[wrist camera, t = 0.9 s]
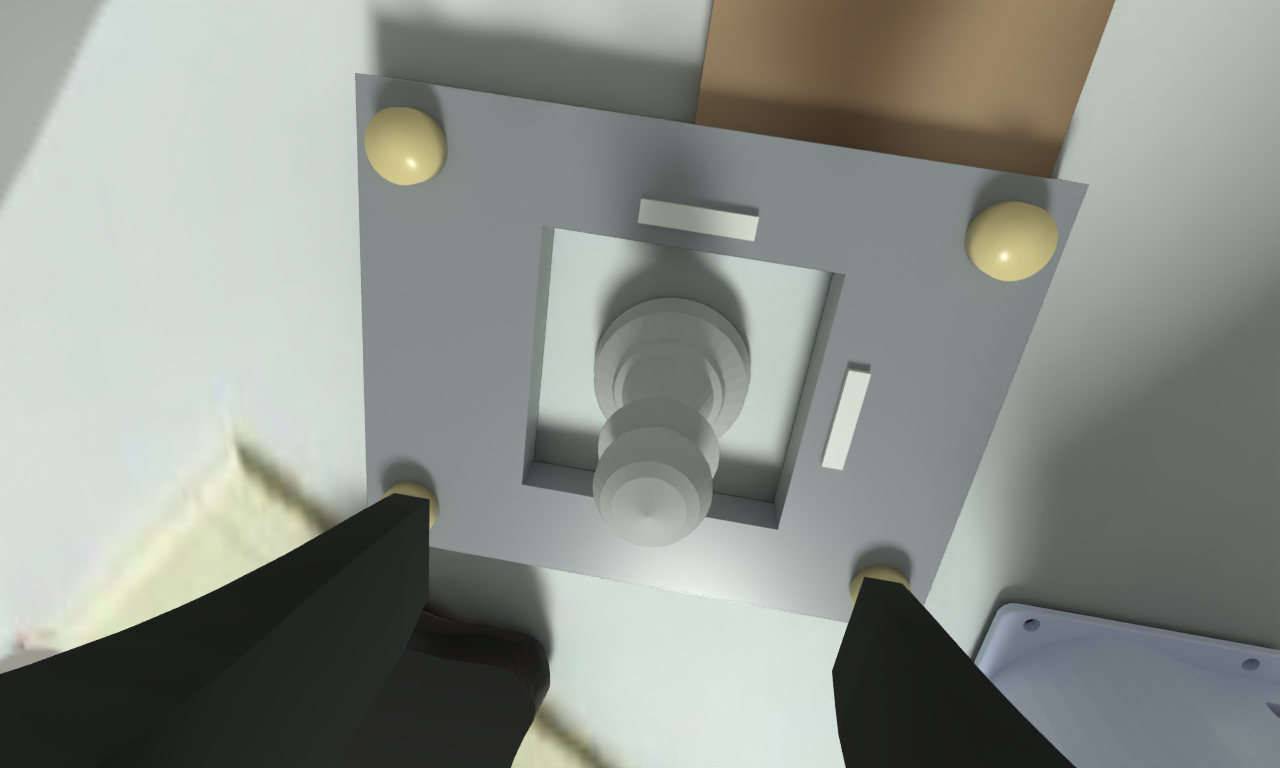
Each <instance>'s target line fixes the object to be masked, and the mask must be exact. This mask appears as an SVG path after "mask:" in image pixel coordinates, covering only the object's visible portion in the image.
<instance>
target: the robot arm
mask: <svg viewBox="0 0 1280 768" xmlns="http://www.w3.org/2000/svg"><path fill="white" fill-rule="evenodd" d="M429 522H430V499H426V498H420V497H415V496H409V495H404V494H398V493H393V494H391V495H389V496H387V497H385V498H384V499H382V500H380V501H378V502H376V503H375V504H373V505H371V506H369V507H368V508H366V509H364V510H362V511H361V512H359V513H357V514H356V515H354V516H352V517H350V518H349V519H347V520H345V521H343V522H342V523H340V524H338V525H337V526H335V527H333V528H331V529H330V530H328V531H326V532H324V533H323V534H321V535H319V536H317V537H315V538H314V539H312V540H310V541H308V542H307V543H305V544H303V545H301V546H299V547H298V548H296V549H294V550H292V551H291V552H289V553H287V554H285V555H283V556H281V557H279V558H277V559H276V560H274V561H272V562H270V563H268V564H266V565H264V566H262V567H260V568H258V569H256V570H254V571H252V572H250V573H248V574H246V575H244V576H242V577H240V578H238V579H236V580H235V581H233V582H231V583H229V584H227V585H225V586H223V587H221V588H219V589H217V590H215V591H213V592H210V593H208V594H206V595H204V596H202V597H200V598H198V599H195V600H193V601H191V602H189V603H187V604H184V605H182V606H180V607H178V608H175V609H173V610H171V611H168V612H166V613H164V614H161V615H159V616H156V617H154V618H152V619H149V620H147V621H145V622H142V623H140V624H138V625H135V626H133V627H130V628H128V629H125V630H123V631H120V632H118V633H115V634H112V635H109V636H107V637H104V638H101V639H98V640H96V641H93V642H90V643H87V644H85V645H82V646H79V647H76V648H74V649H71V650H68V651H65V652H63V653H60V654H57V655H54V656H52V657H49V658H46V659H43V660H41V661H38V662H35V663H33V664H30V665H27V666H24V667H21V668H18V669H15V670H11V671H9V672H5V673H2V674H0V768H333V767H334V765H335V764H336V762H337V760H338V759H339V757H340V756H341V754H342V752H343V751H344V749H345V747H346V746H347V744H348V742H349V741H350V739H351V738H352V736H353V734H354V733H355V731H356V729H357V728H358V726H359V725H360V723H361V721H362V720H363V718H364V716H365V715H366V713H367V712H368V710H369V708H370V707H371V705H372V703H373V702H374V700H375V698H376V697H377V695H378V694H379V692H380V690H381V689H382V687H383V685H384V684H385V682H386V680H387V679H388V677H389V675H390V674H391V672H392V670H393V669H394V667H395V665H396V664H397V662H398V660H399V659H400V657H401V655H402V653H403V652H404V650H405V647H406V645H407V643H408V641H409V639H410V637H411V635H412V632H413V630H414V628H415V626H416V624H417V621H418V619H419V617H420V615H421V612H422V610H423V608H424V605H425V603H426V601H427V599H428V587H429ZM1029 619H1033V621H1031V622H1029V623H1025V621H1027V620H1029ZM832 676H833V687H834V698H835V708H836V717H837V726H838V734H839V739H840V744H841V748H842V753H843V757H844V762H845V766H846V768H1280V650H1276V649H1270V648H1264V647H1259V646H1253V645H1248V644H1242V643H1237V642H1231V641H1225V640H1220V639H1214V638H1209V637H1203V636H1197V635H1192V634H1186V633H1181V632H1175V631H1169V630H1164V629H1158V628H1153V627H1147V626H1142V625H1136V624H1130V623H1125V622H1119V621H1114V620H1108V619H1102V618H1097V617H1091V616H1086V615H1080V614H1075V613H1069V612H1063V611H1058V610H1052V609H1047V608H1041V607H1035V606H1030V605H1024V604H1019V603H1010V604H1006V605H1004V606H1002V607H1001V608H1000V609H999V610H998V611H997V613H996V615H995V617H994V619H993V622H992V624H991V626H990V628H989V631H988V633H987V635H986V637H985V639H984V642H983V644H982V646H981V648H980V651H979V653H978V655H977V657H976V659H975V662H973V661H972V660H971V659H970V658H969V657H968V656H967V655H966V653H965V652H964V651H963V650H962V649H961V648H960V647H959V646H958V644H957V643H956V642H955V641H954V640H953V639H952V638H951V637H950V635H949V634H948V633H947V632H946V631H945V630H944V629H943V628H942V626H941V625H940V624H939V623H938V622H937V621H936V620H935V619H934V617H933V616H932V615H931V614H930V613H929V612H928V611H927V610H926V608H925V607H924V606H923V605H922V604H921V603H920V602H919V601H918V599H917V598H916V597H915V596H914V595H913V594H912V593H911V592H910V591H909V590H908V589H907V588H906V587H905V586H904V585H903V584H902V583H898V582H892V581H886V580H881V579H875V578H869V577H864V579H863V581H862V584H861V587H860V590H859V593H858V596H857V599H856V602H855V605H854V608H853V611H852V614H851V617H850V620H849V623H848V626H847V629H846V631H845V634H844V637H843V640H842V643H841V646H840V649H839V652H838V655H837V658H836V661H835V664H834V667H833V670H832Z"/></svg>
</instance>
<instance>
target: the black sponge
mask: <svg viewBox="0 0 1280 768" xmlns="http://www.w3.org/2000/svg"><path fill="white" fill-rule="evenodd" d="M549 687H550V670H549V664H548V661H547V658H546V656H545V653H544V650H543V648H542V646H541V645H540V644H539V643H538V642H537V641H536V640H534V639H532V638H530V637H528V636H526V635H524V634H522V633H518V632H513V631H508V630H503V629H499V628H496V627H492V626H483V625H475V624H467V623H460V622H454V621H450V620H447V619H444V618H441V617H438V616H435V615H433V614H431V613H429V612H426V611H424V610H422V612H421V615H420V617H419V619H418V621H417V624H416V626H415V628H414V630H413V632H412V635H411V637H410V639H409V641H408V643H407V645H406V647H405V650H404V652H403V653H402V655H401V657H400V659H399V660H398V662H397V664H396V665H395V667H394V669H393V670H392V672H391V674H390V675H389V677H388V679H387V680H386V682H385V684H384V685H383V687H382V689H381V690H380V692H379V694H378V695H377V697H376V698H375V700H374V702H373V703H372V705H371V707H370V708H369V710H368V712H367V713H366V715H365V716H364V718H363V720H362V721H361V723H360V725H359V726H358V728H357V729H356V731H355V733H354V734H353V736H352V738H351V739H350V741H349V742H348V744H347V746H346V747H345V749H344V751H343V752H342V754H341V756H340V757H339V759H338V760H337V762H336V764H335V765H334V767H333V768H511V766H512V763H513V760H514V757H515V755H516V753H517V751H518V749H519V747H520V745H521V743H522V740H523V738H524V736H525V735H526V733H527V731H528V729H529V728H530V726H531V724H532V722H533V720H534V718H535V715H536V713H537V711H538V709H539V707H540V705H541V703H542V701H543V699H544V698H545V696H546V694H547V692H548V690H549Z"/></svg>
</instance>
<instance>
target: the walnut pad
mask: <svg viewBox="0 0 1280 768" xmlns="http://www.w3.org/2000/svg"><path fill="white" fill-rule="evenodd" d="M1114 2H1115V0H714V3H713V9H712V16H711V22H710V28H709V34H708V41H707V47H706V53H705V59H704V66H703V72H702V78H701V84H700V91H699V97H698V103H697V110H696V116H695V122H694V124H697V125H704V126H710V127H717V128H723V129H730V130H737V131H743V132H750V133H756V134H763V135H769V136H776V137H783V138H789V139H796V140H802V141H809V142H815V143H822V144H829V145H835V146H842V147H848V148H855V149H861V150H868V151H875V152H881V153H888V154H894V155H901V156H908V157H914V158H921V159H927V160H934V161H940V162H947V163H954V164H960V165H967V166H973V167H980V168H986V169H993V170H1000V171H1006V172H1013V173H1019V174H1026V175H1032V176H1039V177H1046V178H1050V176H1051V173H1052V171H1053V168H1054V165H1055V162H1056V160H1057V157H1058V154H1059V152H1060V149H1061V146H1062V143H1063V141H1064V138H1065V135H1066V133H1067V130H1068V127H1069V124H1070V122H1071V119H1072V116H1073V114H1074V111H1075V108H1076V105H1077V103H1078V100H1079V97H1080V95H1081V92H1082V89H1083V86H1084V84H1085V81H1086V78H1087V76H1088V73H1089V70H1090V67H1091V65H1092V62H1093V59H1094V57H1095V54H1096V51H1097V48H1098V46H1099V43H1100V40H1101V38H1102V35H1103V32H1104V29H1105V27H1106V24H1107V21H1108V19H1109V16H1110V13H1111V10H1112V8H1113V5H1114Z"/></svg>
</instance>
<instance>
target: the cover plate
mask: <svg viewBox="0 0 1280 768" xmlns="http://www.w3.org/2000/svg"><path fill="white" fill-rule="evenodd" d="M355 80H356V116H357V152H358V187H359V223H360V259H361V294H362V330H363V366H364V401H365V437H366V473H367V508H368V507H369V506H371V505H373V504H375V503H376V502H378V501H380V500H382V499H384V498H385V497H387V496H389V495H391V494H393V493H398V494H404V495H409V496H415V497H420V498H426V499H430V522H429V547H434V548H440V549H445V550H450V551H456V552H461V553H467V554H472V555H478V556H483V557H489V558H494V559H500V560H505V561H511V562H516V563H522V564H527V565H533V566H538V567H544V568H549V569H555V570H560V571H566V572H571V573H577V574H582V575H588V576H593V577H599V578H604V579H610V580H615V581H621V582H626V583H632V584H637V585H643V586H648V587H654V588H659V589H665V590H670V591H676V592H681V593H687V594H692V595H698V596H703V597H708V598H714V599H719V600H725V601H730V602H736V603H741V604H747V605H752V606H758V607H763V608H769V609H774V610H780V611H785V612H791V613H796V614H802V615H807V616H813V617H818V618H824V619H829V620H835V621H840V622H846V623H849V620H850V617H851V614H852V611H853V608H854V605H855V602H856V599H857V596H858V593H859V590H860V587H861V584H862V581H863V579H864V577H869V578H875V579H881V580H886V581H892V582H898V583H902V584H903V585H904V586H905V587H906V588H907V589H908V590H909V591H910V592H911V593H912V594H913V595H914V596H915V597H916V598H917V599H918V601H919V602H920V603H921V604H922V605H923V606H924V604H925V601H926V599H927V596H928V594H929V591H930V589H931V586H932V583H933V581H934V578H935V576H936V573H937V571H938V568H939V566H940V563H941V560H942V558H943V555H944V553H945V550H946V548H947V545H948V543H949V540H950V538H951V535H952V532H953V530H954V527H955V525H956V522H957V520H958V517H959V515H960V512H961V510H962V507H963V504H964V502H965V499H966V497H967V494H968V492H969V489H970V487H971V484H972V481H973V479H974V476H975V474H976V471H977V469H978V466H979V464H980V461H981V459H982V456H983V453H984V451H985V448H986V446H987V443H988V441H989V438H990V436H991V433H992V431H993V428H994V425H995V423H996V420H997V418H998V415H999V413H1000V410H1001V408H1002V405H1003V402H1004V400H1005V397H1006V395H1007V392H1008V390H1009V387H1010V385H1011V382H1012V380H1013V377H1014V374H1015V372H1016V369H1017V367H1018V364H1019V362H1020V359H1021V357H1022V354H1023V351H1024V349H1025V346H1026V344H1027V341H1028V339H1029V336H1030V334H1031V331H1032V329H1033V326H1034V323H1035V321H1036V318H1037V316H1038V313H1039V311H1040V308H1041V306H1042V303H1043V301H1044V298H1045V295H1046V293H1047V290H1048V288H1049V285H1050V283H1051V280H1052V278H1053V275H1054V272H1055V270H1056V267H1057V265H1058V262H1059V260H1060V257H1061V255H1062V252H1063V250H1064V247H1065V244H1066V242H1067V239H1068V237H1069V234H1070V232H1071V229H1072V227H1073V224H1074V221H1075V219H1076V216H1077V214H1078V211H1079V209H1080V206H1081V204H1082V201H1083V199H1084V196H1085V193H1086V191H1087V188H1088V186H1089V185H1088V184H1082V183H1077V182H1072V181H1066V180H1061V179H1055V178H1046V177H1039V176H1032V175H1026V174H1019V173H1013V172H1006V171H1000V170H993V169H986V168H980V167H973V166H967V165H960V164H954V163H947V162H940V161H934V160H927V159H921V158H914V157H908V156H901V155H894V154H888V153H881V152H875V151H868V150H861V149H855V148H848V147H842V146H835V145H829V144H822V143H815V142H809V141H802V140H796V139H789V138H783V137H776V136H769V135H763V134H756V133H750V132H743V131H737V130H730V129H723V128H717V127H710V126H704V125H697V124H693V123H686V122H680V121H673V120H667V119H660V118H654V117H647V116H640V115H634V114H627V113H621V112H614V111H608V110H601V109H594V108H588V107H581V106H575V105H568V104H562V103H555V102H548V101H542V100H535V99H529V98H522V97H515V96H509V95H502V94H496V93H489V92H483V91H476V90H469V89H463V88H456V87H450V86H443V85H437V84H430V83H423V82H417V81H410V80H404V79H397V78H391V77H384V76H376V75H367V74H359V73H355ZM554 228H559V229H565V230H572V231H578V232H584V233H590V234H597V235H603V236H609V237H615V238H622V239H628V240H634V241H640V242H646V243H653V244H659V245H665V246H671V247H678V248H684V249H690V250H696V251H703V252H709V253H715V254H721V255H728V256H734V257H740V258H746V259H753V260H759V261H765V262H771V263H778V264H784V265H790V266H796V267H803V268H809V269H815V270H821V271H828V272H833V275H832V279H831V283H830V287H829V291H828V295H827V298H826V302H825V306H824V310H823V314H822V318H821V322H820V325H819V329H818V333H817V337H816V341H815V345H814V349H813V353H812V356H811V360H810V364H809V368H808V372H807V376H806V380H805V384H804V387H803V391H802V395H801V399H800V403H799V407H798V411H797V415H796V418H795V422H794V426H793V430H792V434H791V438H790V442H789V446H788V449H787V453H786V457H785V461H784V465H783V469H782V473H781V477H780V480H779V484H778V488H777V492H776V496H775V500H774V503H770V502H764V501H758V500H753V499H747V498H741V497H735V496H730V495H724V494H718V493H713V495H712V501H711V506H710V508H709V510H708V513H707V515H706V516H705V518H704V520H703V521H702V522H701V524H700V525H699V526H698V527H697V528H696V529H695V530H694V531H693V532H692V533H691V534H690V535H688V536H687V537H685V538H683V539H682V540H680V541H678V542H676V543H673V544H671V545H668V546H663V547H643V546H638V545H635V544H632V543H629V542H628V541H626V540H624V539H622V538H620V537H619V536H618V535H617V534H615V533H614V532H613V531H612V530H611V529H610V528H609V526H608V525H607V524H606V523H605V522H604V520H603V518H602V517H601V515H600V514H599V512H598V509H597V507H596V504H595V501H594V495H593V488H592V487H593V477H594V474H595V472H593V471H587V470H582V469H576V468H570V467H564V466H559V465H553V464H547V463H542V462H536V461H534V455H535V444H536V432H537V420H538V409H539V397H540V386H541V374H542V363H543V351H544V340H545V328H546V317H547V305H548V294H549V282H550V271H551V259H552V248H553V236H554Z"/></svg>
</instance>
